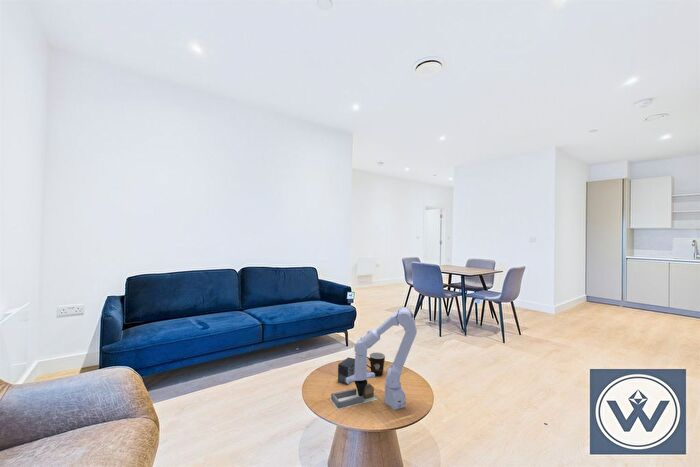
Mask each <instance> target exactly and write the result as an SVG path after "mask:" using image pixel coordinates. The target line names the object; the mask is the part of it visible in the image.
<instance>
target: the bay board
mask: <svg viewBox="0 0 700 467" xmlns="http://www.w3.org/2000/svg"><path fill="white" fill-rule="evenodd" d="M330 396H331V397H330V398H329V400H330V402H332V404H333V405H334V407H335V408H336V410H342V409H347V408H350V407H354V406H358V405H362V404H366V403H369V402H373V401H377V400H378V398H376V397H375V396H374V397H372V398H368V399H365V398H364V397H363V396H359V395H358V391H357V387H355V388H351V389H346V390H342V391H337V392H332V393H331V394H330Z"/></svg>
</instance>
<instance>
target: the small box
mask: <svg viewBox="0 0 700 467" xmlns="http://www.w3.org/2000/svg"><path fill="white" fill-rule="evenodd" d="M354 374H355V358H353V357H347V358H345V359H344V360H342V361H341V362H340V363H338V364H337V382H338V383H340V384H342V385H346V386H349V385H350V384H352V382H349V383H348V384H347V383H346V378H347V377H350V376H352V375H354Z"/></svg>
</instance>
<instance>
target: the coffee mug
mask: <svg viewBox="0 0 700 467" xmlns="http://www.w3.org/2000/svg"><path fill="white" fill-rule="evenodd" d="M385 359H386V355H385V354H384V353H382V352H372V353H370V354H369V356H367V360H369V362H370V363H369V364H370V365H368V364H367V368H369V369H370V372H373V373H375V377H380V376H381V377H382V376H383V372H384V366H385Z"/></svg>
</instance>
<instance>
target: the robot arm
mask: <svg viewBox="0 0 700 467" xmlns="http://www.w3.org/2000/svg"><path fill="white" fill-rule="evenodd" d="M393 326H397V327H399V326H401V327H402V328H403V330H404V332H405V333H404V335H403V336H402V340H401V342H400V344H399V347H398V349H397V351H396V354H395V357H394V359H393V362H392V363H391V365H390V366H389V367H388V368H387V370H386V376H385V382H384V403H385V404H386V405H387V406H389V407H390V408H391V409H392V410H394V411H395V410H400V409H403V408H405V407H406V393H405V391H404V390H403V389H402V388H403V387H402V382H401V380H400V379H401V375H402V371H403V368H404V365H405V363H406V361H407V358H408V357H409V356H408V355H409V353H410V351H411V349H412V347H413V346H412V345H413V343H414V340H415V338H416V336H417V333H418V331H417V326H416V321H415V317H414V314H413V312H412V311H411V309H410V308H409V307H406V306H402V307H400V308H399V309H398V310H396V311H395V312H394V313H392V314H391V315H390V316H389V317H388V318H386V319H385V320H384V321H383V323H381V324H380V325H379V326H378V327H377V328H376V329H375V328H374V329H373V328H372V329H368V330H367V332H366V334H365V335H364V336H363V337H359V338H360V339H359V340H357V341H356V343H355V345H354V352H355V353H354V354H355V356H354V359H355V374H354V375H352V376H350V377H347V378H346V383H347V384H348V383H349V382H351V383H353V382H354V384H355V386H356V387H355V388H356V392H358V395H359V396H362V395H363V391H364V388H365V386H366V385H367V383H368V379H375V378H376V376H375V373H373V372H371V371H370V372H368V366H367V365H368V358H367V357H368V349H371V348H372V347H373V346H374V345H375V344H376V343H378V342H379V341H380V340H381V335H383V334H384V333H385V332H386V331H388V330H389V329H391V327H392V328H393Z"/></svg>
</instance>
